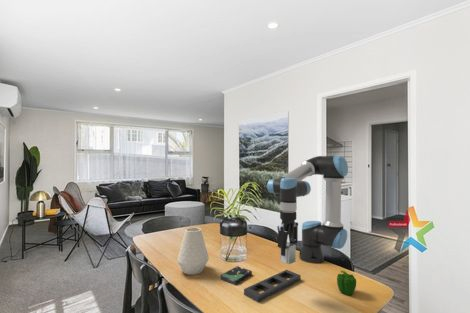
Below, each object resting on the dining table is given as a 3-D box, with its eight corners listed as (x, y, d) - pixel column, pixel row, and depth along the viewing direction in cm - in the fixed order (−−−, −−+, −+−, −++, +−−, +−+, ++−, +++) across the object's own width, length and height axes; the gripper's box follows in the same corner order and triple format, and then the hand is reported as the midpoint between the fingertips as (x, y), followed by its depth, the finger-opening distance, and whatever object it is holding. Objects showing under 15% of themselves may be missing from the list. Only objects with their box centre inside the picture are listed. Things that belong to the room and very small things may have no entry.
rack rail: (286, 274, 142) (286, 269, 142) (300, 280, 135) (300, 275, 135) (243, 294, 120) (243, 289, 120) (257, 302, 114) (257, 296, 114)
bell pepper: (358, 292, 123) (358, 270, 123) (353, 299, 117) (353, 276, 117) (340, 286, 129) (340, 266, 129) (334, 292, 122) (334, 271, 122)
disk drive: (236, 270, 147) (219, 280, 135) (237, 265, 147) (220, 274, 135) (252, 275, 141) (235, 286, 129) (252, 270, 141) (235, 280, 129)
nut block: (286, 258, 125) (286, 241, 125) (295, 261, 121) (295, 244, 121) (280, 261, 122) (280, 244, 122) (289, 264, 118) (289, 246, 118)
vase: (213, 266, 152) (213, 226, 152) (201, 279, 135) (201, 235, 135) (185, 262, 157) (186, 224, 157) (171, 275, 140) (171, 232, 140)
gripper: (292, 207, 131) (292, 254, 130) (269, 212, 118) (269, 263, 118) (305, 209, 125) (305, 258, 125) (283, 214, 113) (282, 268, 113)
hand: (287, 260), depth 121 cm, fingers closed on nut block, 5 cm apart
